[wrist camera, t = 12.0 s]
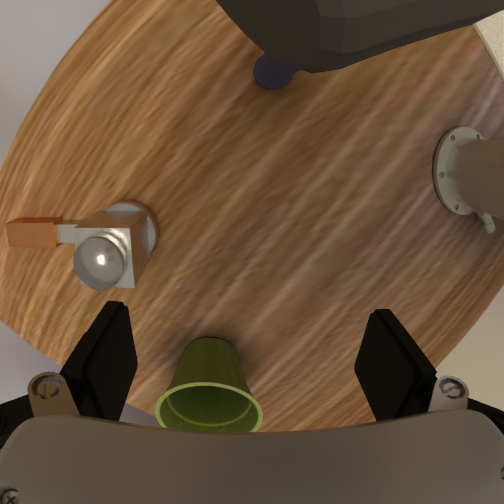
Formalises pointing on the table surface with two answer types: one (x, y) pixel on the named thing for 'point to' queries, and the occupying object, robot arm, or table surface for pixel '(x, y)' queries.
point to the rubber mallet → (342, 30)
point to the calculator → (493, 38)
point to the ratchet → (68, 228)
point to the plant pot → (209, 392)
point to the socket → (111, 249)
